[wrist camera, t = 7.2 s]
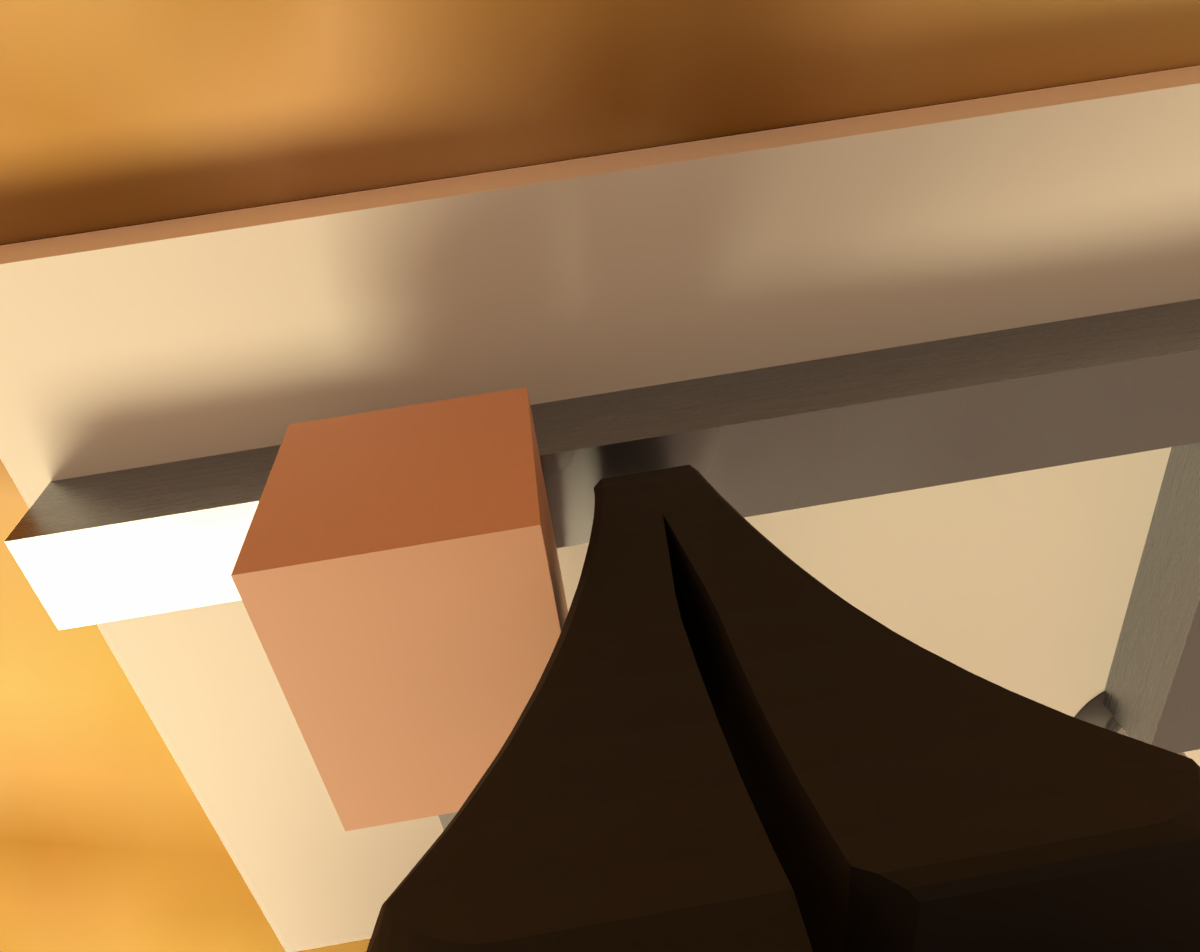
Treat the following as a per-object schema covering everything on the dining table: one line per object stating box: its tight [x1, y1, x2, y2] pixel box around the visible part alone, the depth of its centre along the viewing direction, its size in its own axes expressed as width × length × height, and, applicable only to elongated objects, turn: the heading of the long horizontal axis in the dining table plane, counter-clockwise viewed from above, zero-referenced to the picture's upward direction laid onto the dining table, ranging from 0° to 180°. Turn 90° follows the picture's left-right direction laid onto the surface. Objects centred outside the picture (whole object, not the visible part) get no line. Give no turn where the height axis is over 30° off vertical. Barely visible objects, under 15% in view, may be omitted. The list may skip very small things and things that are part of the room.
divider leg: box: [231, 387, 568, 831], centre depth 13 cm, size 11×3×4 cm, turn 7°
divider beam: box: [5, 299, 1200, 757], centre depth 16 cm, size 10×23×2 cm, turn 97°
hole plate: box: [0, 65, 1200, 952], centre depth 16 cm, size 16×24×1 cm, turn 97°
